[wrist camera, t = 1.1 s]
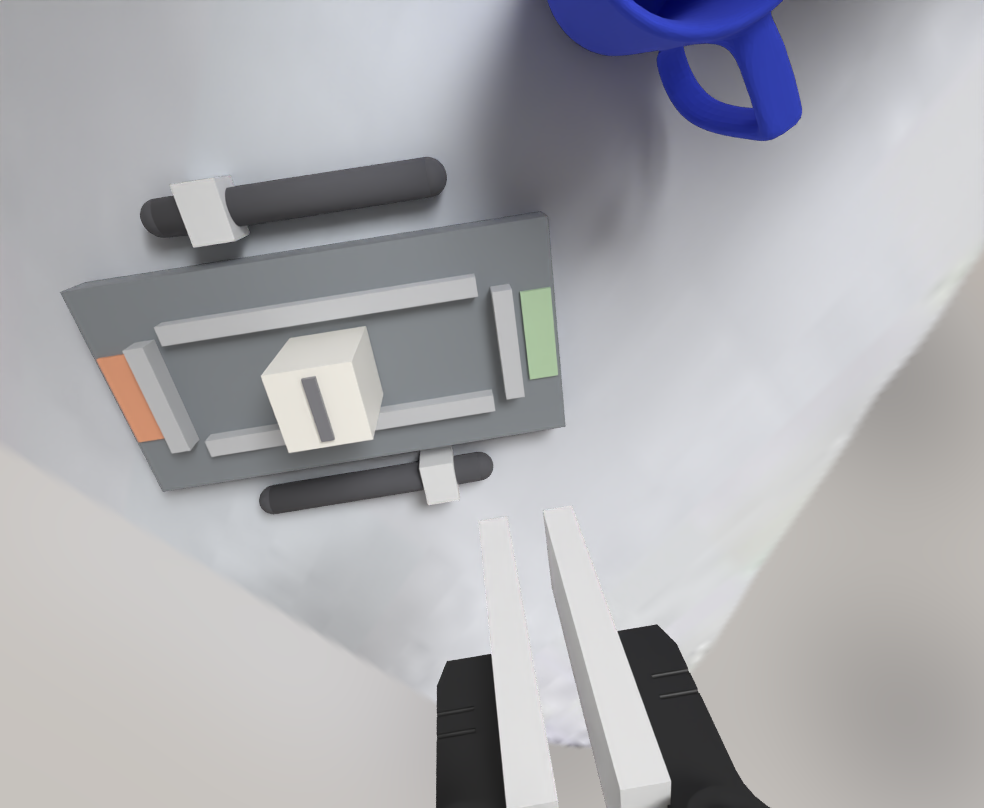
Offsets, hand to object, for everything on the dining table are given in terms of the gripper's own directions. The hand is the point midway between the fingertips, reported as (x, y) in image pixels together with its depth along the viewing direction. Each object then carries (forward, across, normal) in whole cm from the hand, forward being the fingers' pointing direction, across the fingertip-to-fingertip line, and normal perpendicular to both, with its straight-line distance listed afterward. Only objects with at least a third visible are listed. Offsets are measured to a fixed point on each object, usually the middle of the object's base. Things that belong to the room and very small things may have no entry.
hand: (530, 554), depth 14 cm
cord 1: (+18, -8, +8) cm, 22 cm away
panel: (+18, -8, 0) cm, 20 cm away
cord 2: (+18, -8, -8) cm, 22 cm away
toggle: (+16, -8, 0) cm, 18 cm away
